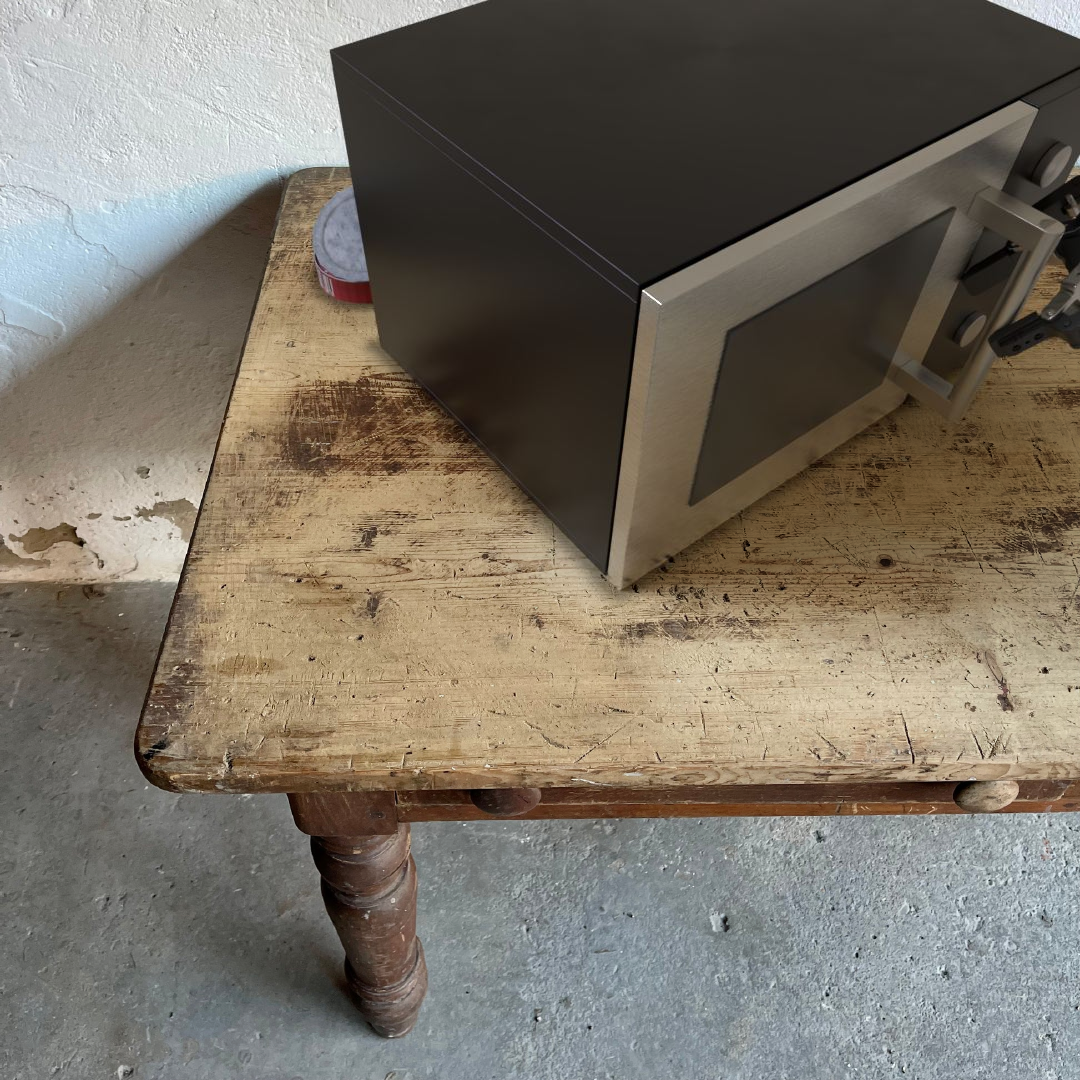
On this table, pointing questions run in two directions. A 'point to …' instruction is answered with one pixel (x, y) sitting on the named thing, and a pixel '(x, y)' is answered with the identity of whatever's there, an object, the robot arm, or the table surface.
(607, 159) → the microwave
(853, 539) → the table surface
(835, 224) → the microwave door
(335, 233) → the canned food
